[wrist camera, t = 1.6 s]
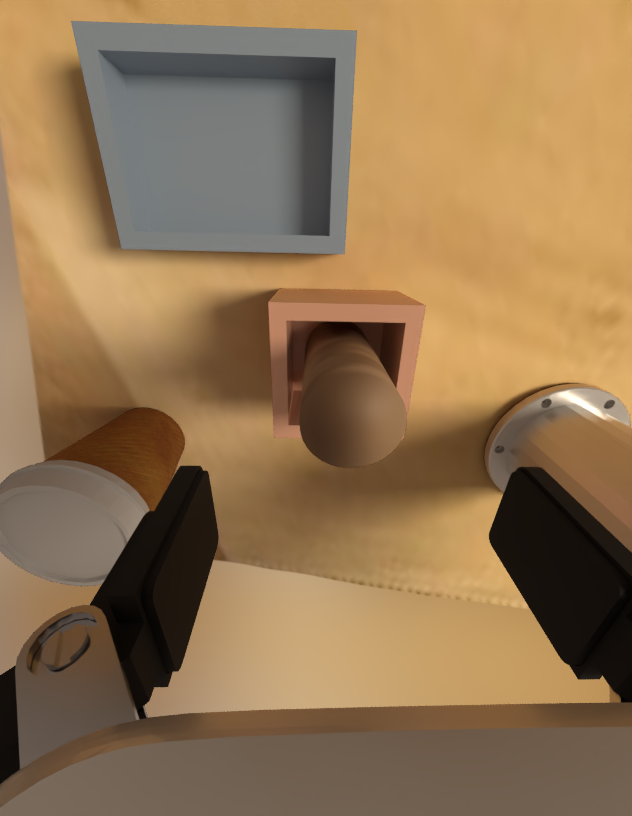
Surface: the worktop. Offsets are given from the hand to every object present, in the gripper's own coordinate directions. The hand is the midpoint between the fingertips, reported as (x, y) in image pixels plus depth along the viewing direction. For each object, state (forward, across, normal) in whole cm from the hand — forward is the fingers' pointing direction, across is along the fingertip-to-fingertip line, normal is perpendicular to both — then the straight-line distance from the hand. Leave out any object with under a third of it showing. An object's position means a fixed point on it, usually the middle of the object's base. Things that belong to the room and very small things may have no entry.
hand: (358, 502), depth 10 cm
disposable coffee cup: (+19, +16, +9) cm, 27 cm away
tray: (+19, +6, -12) cm, 23 cm away
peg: (+17, -1, 0) cm, 17 cm away
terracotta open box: (+18, -1, 0) cm, 18 cm away
